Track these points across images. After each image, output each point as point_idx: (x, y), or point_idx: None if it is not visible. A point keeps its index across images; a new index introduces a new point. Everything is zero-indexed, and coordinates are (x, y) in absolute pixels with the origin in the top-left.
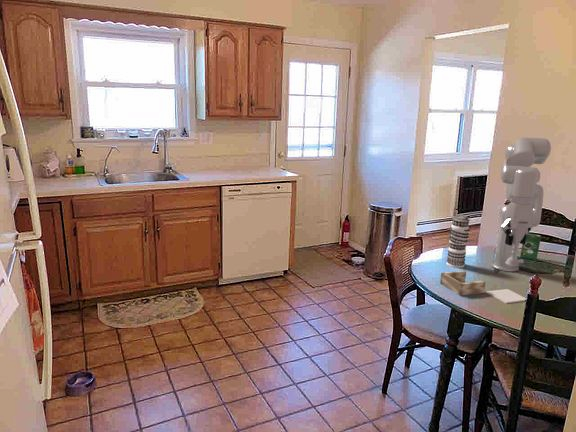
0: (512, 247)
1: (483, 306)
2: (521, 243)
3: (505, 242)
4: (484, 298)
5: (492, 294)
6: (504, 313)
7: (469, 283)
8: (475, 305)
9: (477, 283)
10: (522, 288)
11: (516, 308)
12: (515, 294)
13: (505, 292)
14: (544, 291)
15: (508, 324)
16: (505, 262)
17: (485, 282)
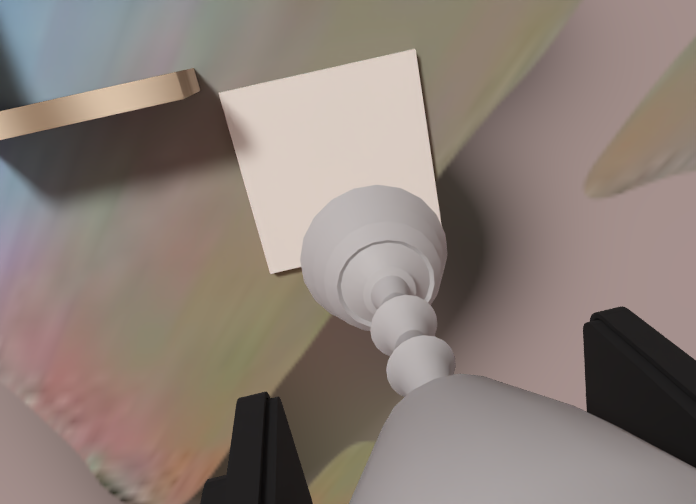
0: (395, 357)
1: (100, 309)
2: (589, 401)
3: (241, 415)
4: (159, 192)
5: (238, 151)
6: (192, 389)
7: (10, 137)
8: (50, 296)
9: (100, 116)
10: (555, 14)
11: (300, 330)
12: (411, 153)
13: (357, 117)
14: (672, 79)
15: (153, 492)
16: (311, 229)
17: (185, 97)
